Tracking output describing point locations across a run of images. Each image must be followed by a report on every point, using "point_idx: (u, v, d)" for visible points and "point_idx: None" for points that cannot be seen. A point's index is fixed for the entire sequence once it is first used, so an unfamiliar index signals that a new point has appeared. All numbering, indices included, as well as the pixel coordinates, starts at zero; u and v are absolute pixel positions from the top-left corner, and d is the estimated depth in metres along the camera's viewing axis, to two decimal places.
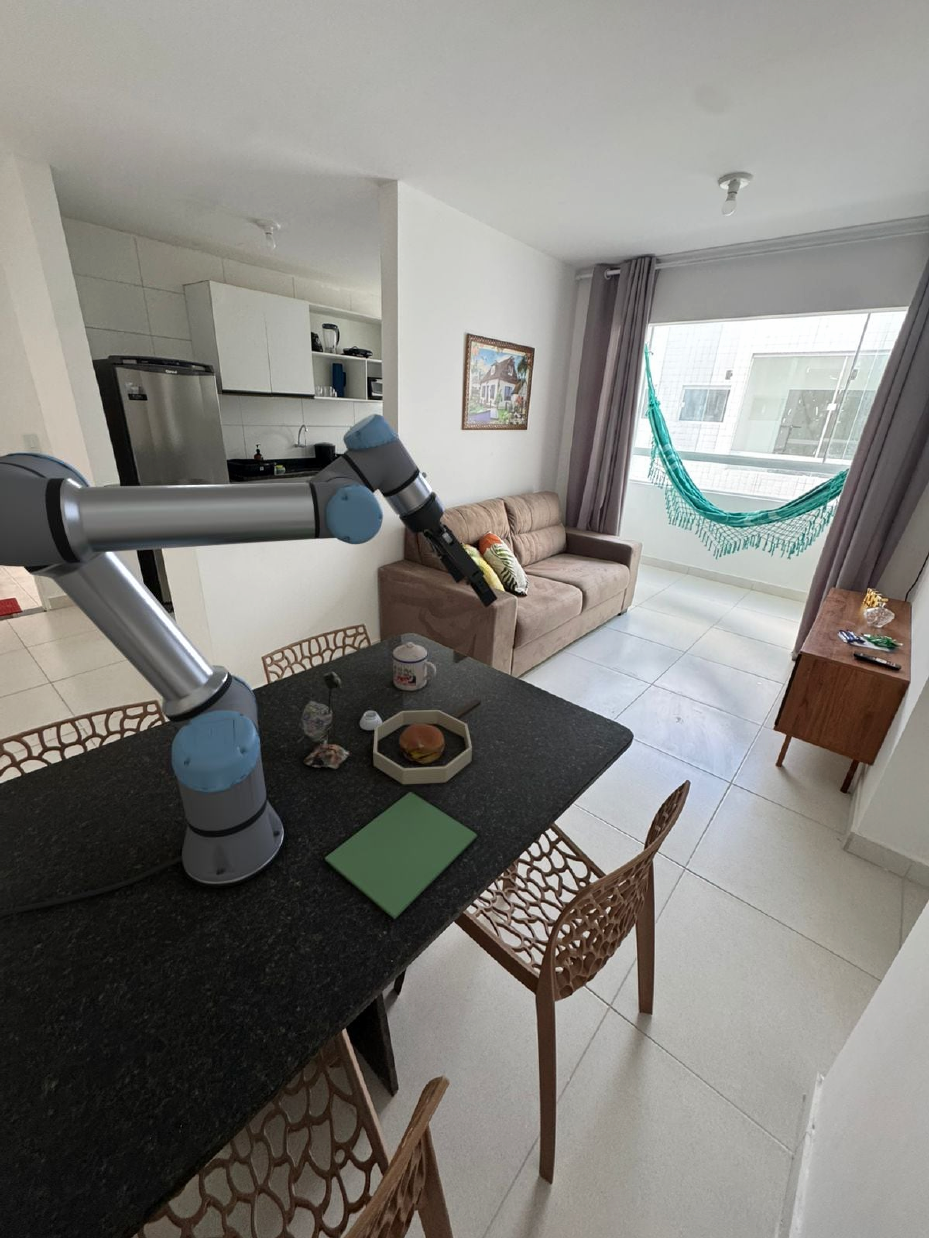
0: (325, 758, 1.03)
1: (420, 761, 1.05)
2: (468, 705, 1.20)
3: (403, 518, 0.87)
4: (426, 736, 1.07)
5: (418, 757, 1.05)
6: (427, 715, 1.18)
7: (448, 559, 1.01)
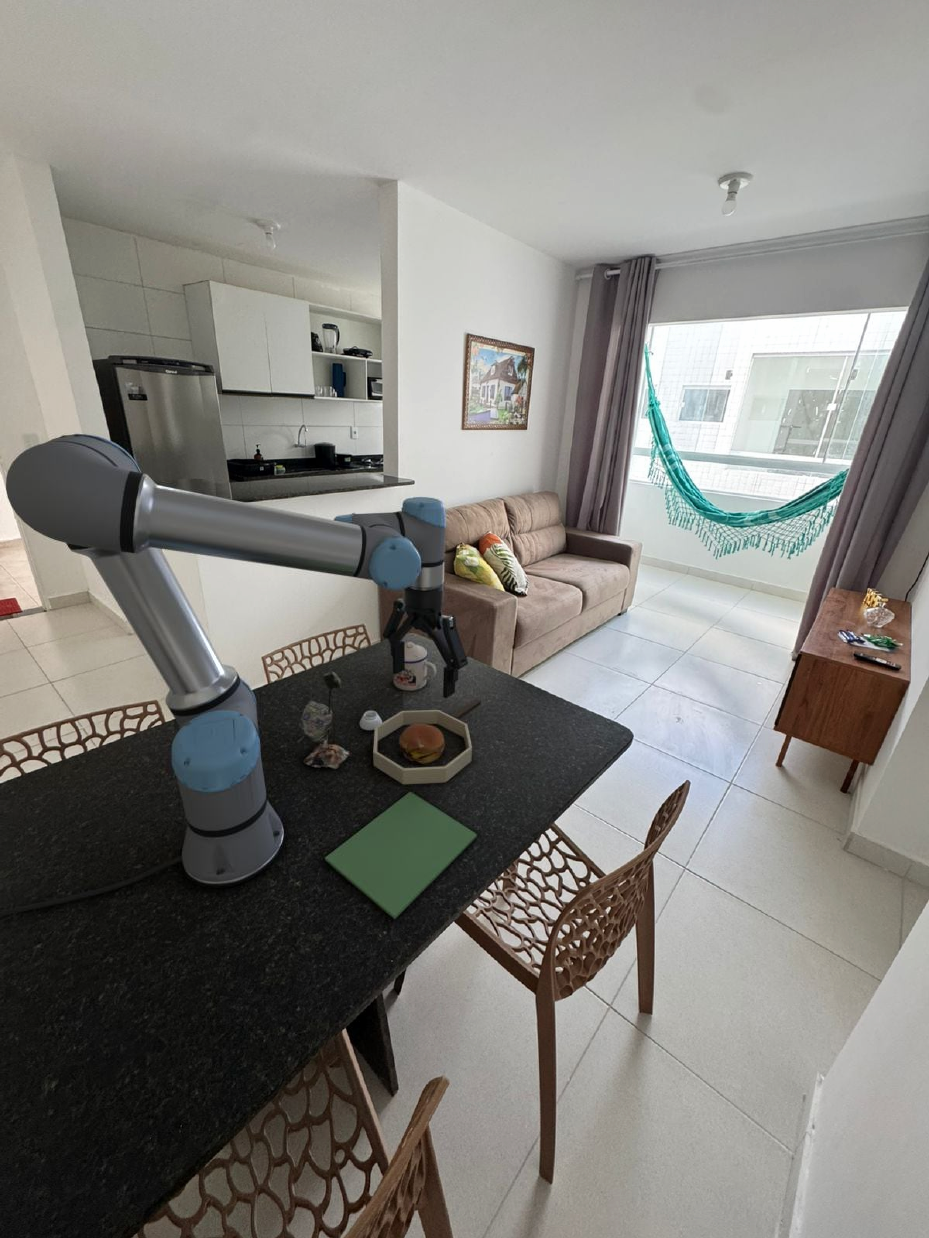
0: (325, 758, 1.03)
1: (420, 761, 1.05)
2: (468, 705, 1.20)
3: (415, 591, 0.91)
4: (426, 736, 1.07)
5: (418, 757, 1.05)
6: (427, 715, 1.18)
7: (399, 648, 1.04)
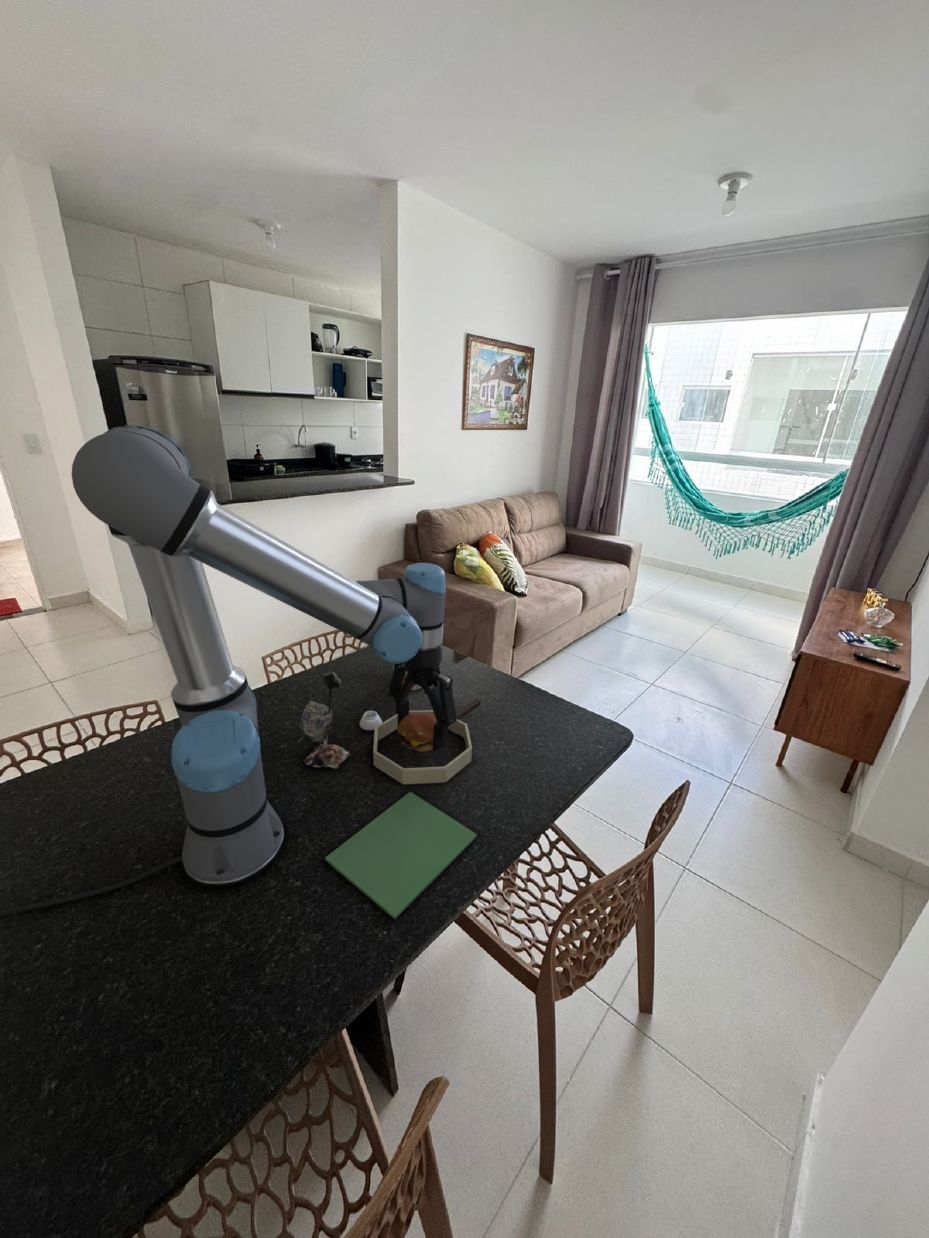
0: (325, 758, 1.03)
1: (419, 749, 1.04)
2: (468, 705, 1.20)
3: None
4: (425, 724, 1.05)
5: (417, 745, 1.03)
6: None
7: (404, 706, 1.08)
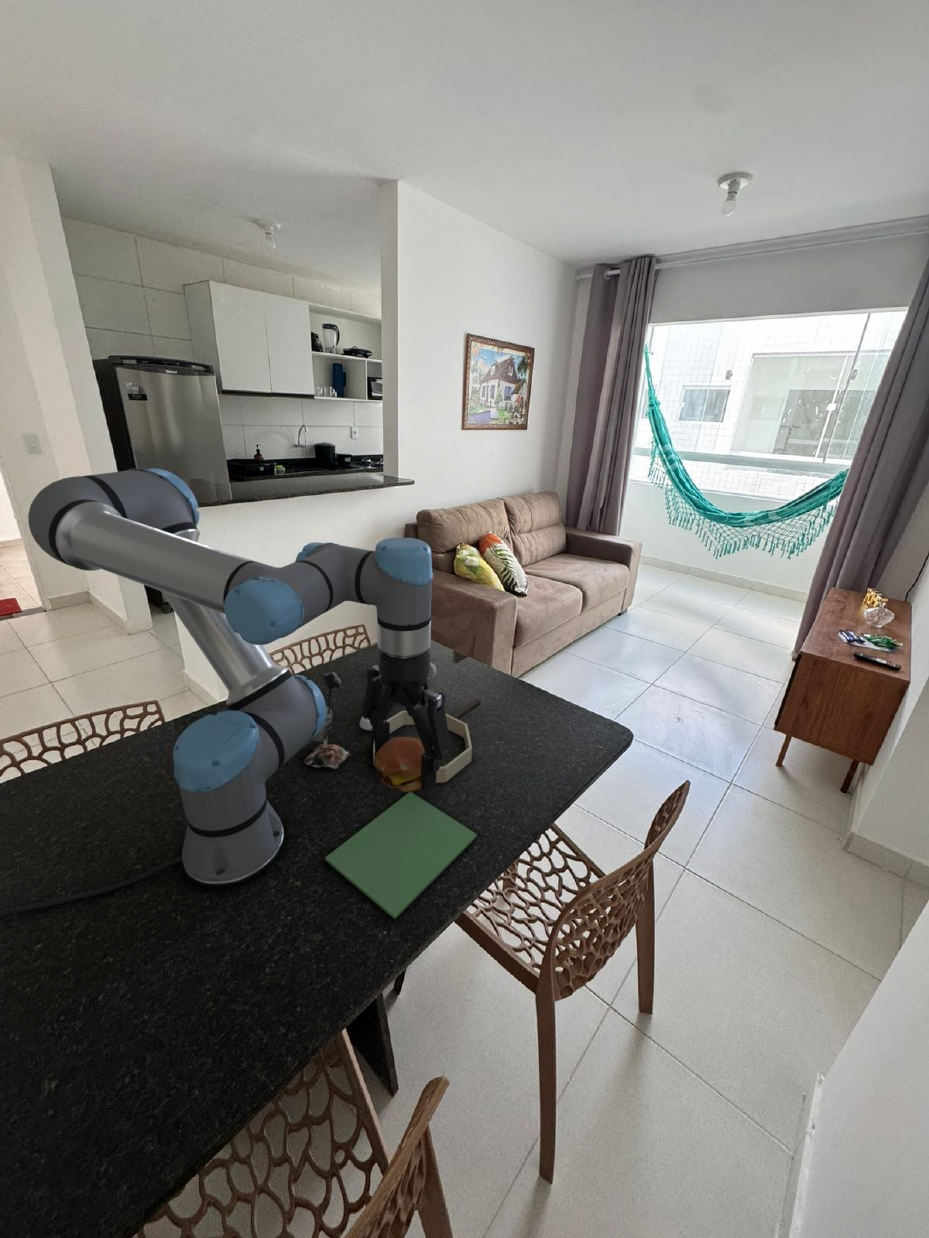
0: (325, 758, 1.03)
1: (402, 788, 0.78)
2: (468, 705, 1.20)
3: (393, 660, 0.70)
4: (411, 755, 0.80)
5: (400, 783, 0.77)
6: None
7: (383, 731, 0.83)
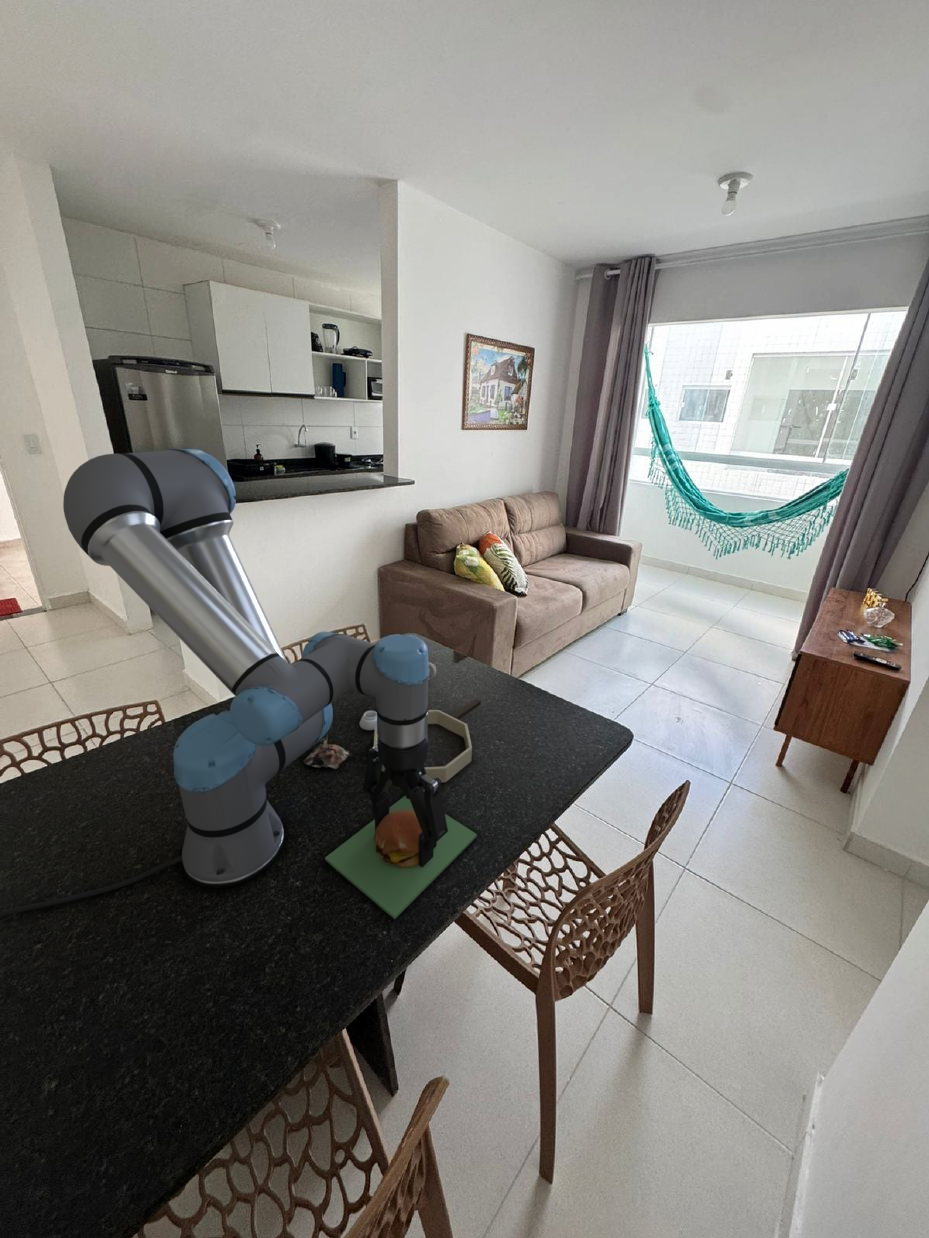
0: (325, 758, 1.03)
1: (401, 865, 0.81)
2: (468, 705, 1.20)
3: (391, 750, 0.74)
4: (409, 831, 0.83)
5: (398, 860, 0.81)
6: None
7: (383, 805, 0.86)
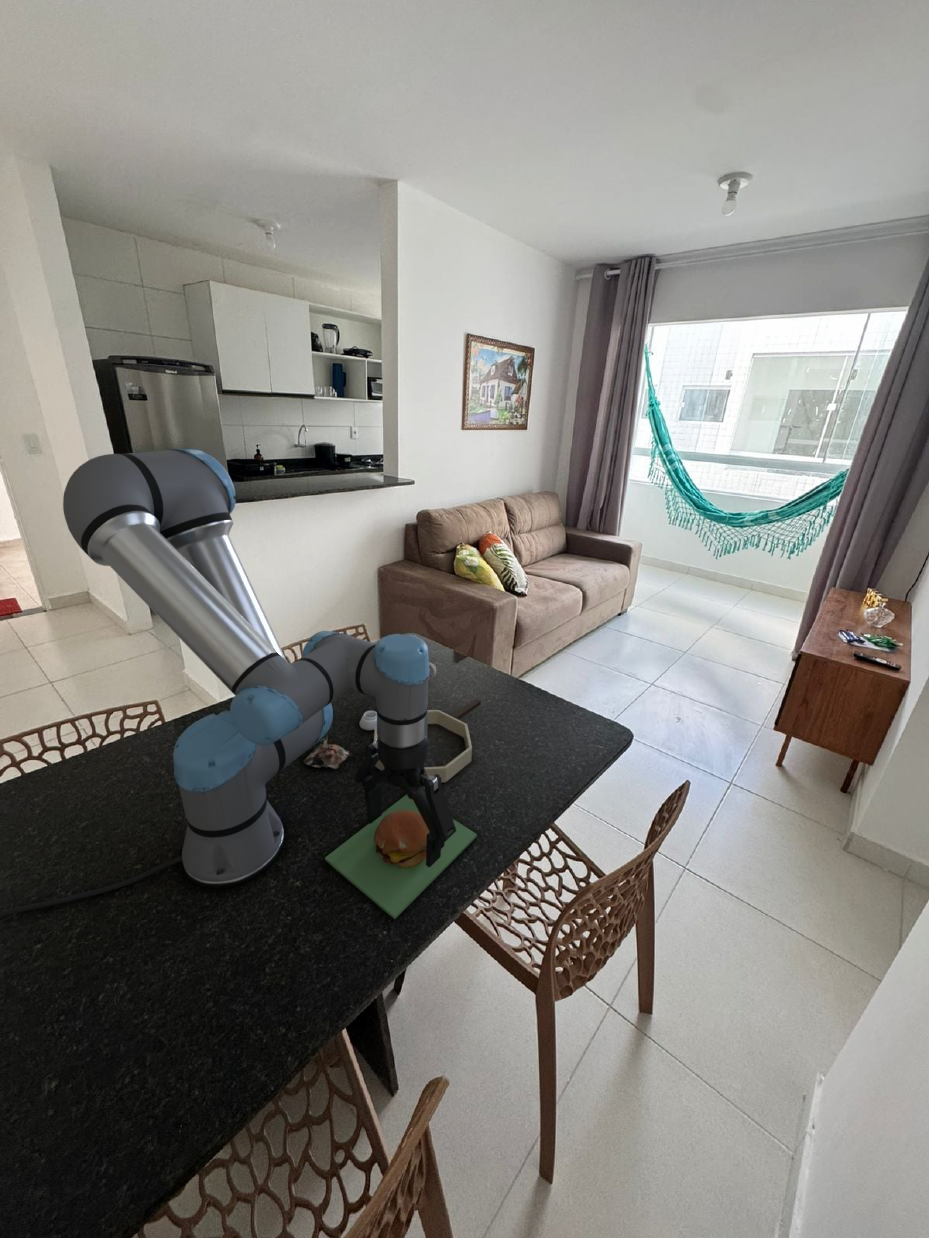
0: (325, 758, 1.03)
1: (401, 865, 0.81)
2: (468, 705, 1.20)
3: (391, 750, 0.74)
4: (409, 831, 0.83)
5: (398, 860, 0.81)
6: None
7: (375, 794, 0.87)
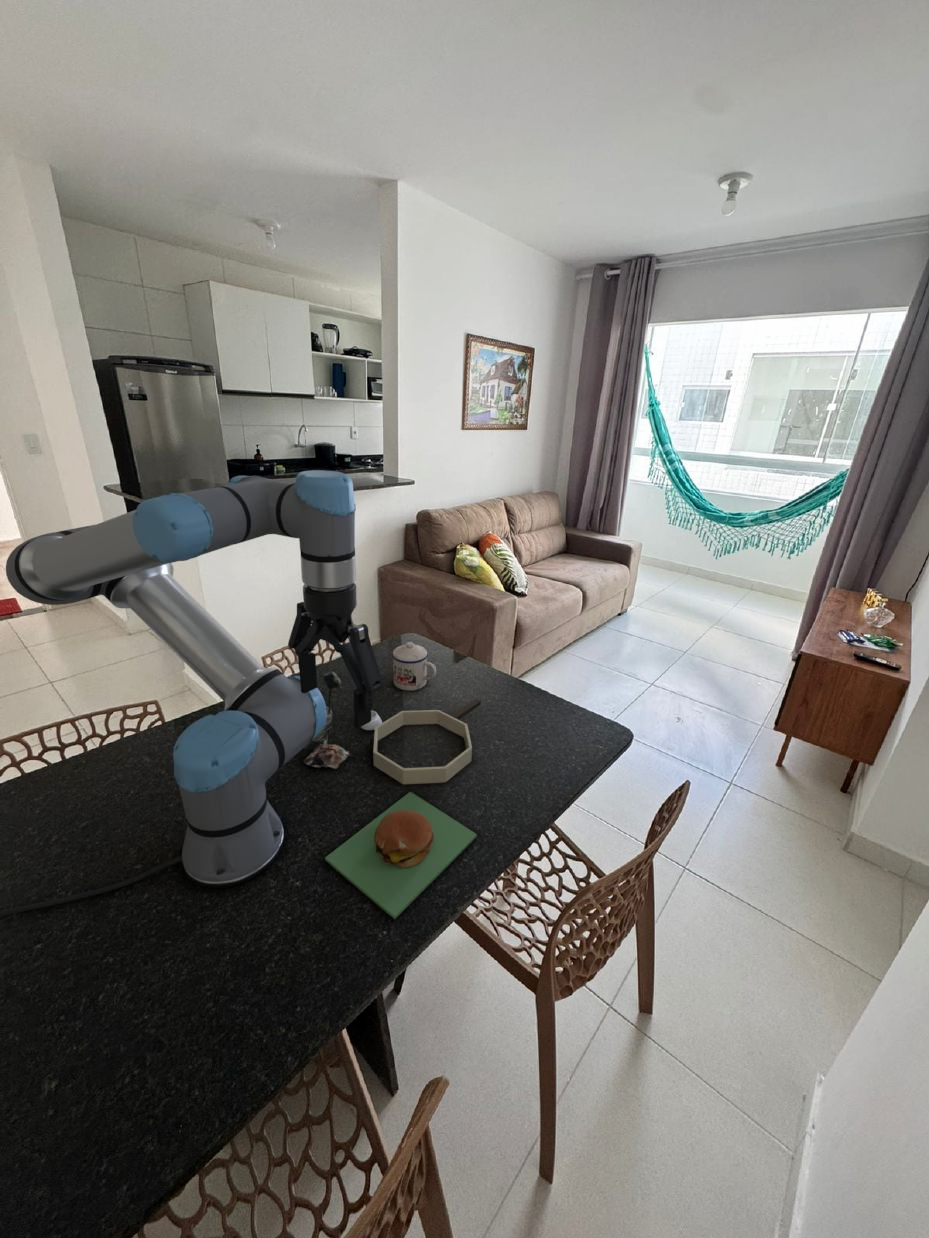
0: (325, 758, 1.03)
1: (401, 865, 0.81)
2: (468, 705, 1.20)
3: (314, 593, 0.71)
4: (409, 831, 0.83)
5: (398, 860, 0.81)
6: (427, 715, 1.18)
7: (308, 661, 0.84)
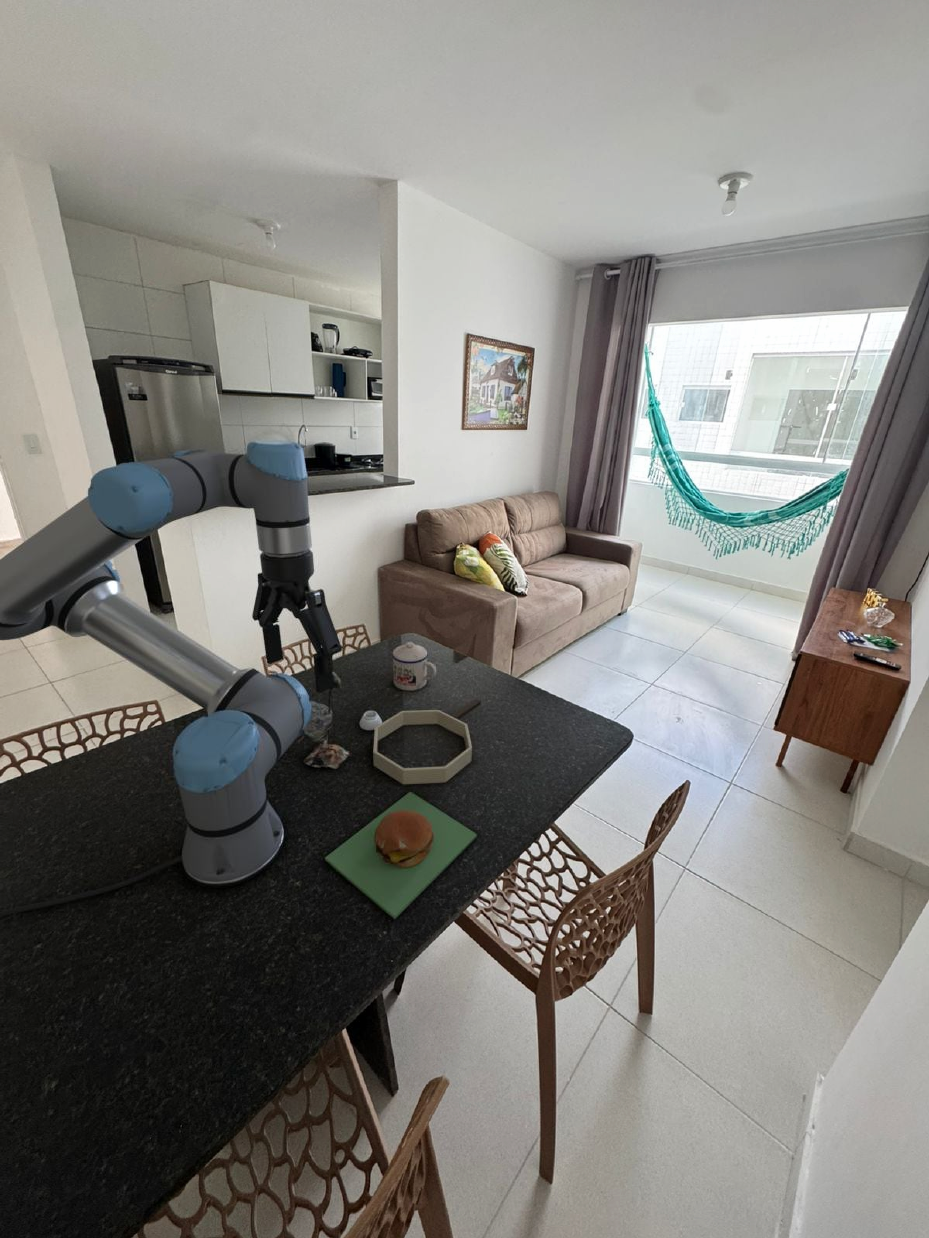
0: (325, 758, 1.03)
1: (401, 865, 0.81)
2: (468, 705, 1.20)
3: (270, 559, 0.73)
4: (409, 831, 0.83)
5: (398, 860, 0.81)
6: (427, 715, 1.18)
7: (272, 632, 0.86)
